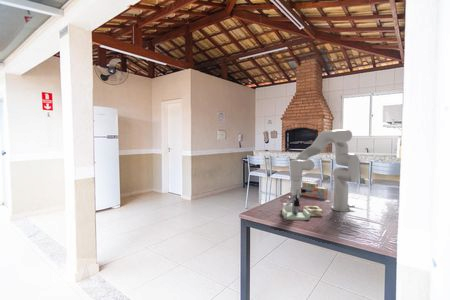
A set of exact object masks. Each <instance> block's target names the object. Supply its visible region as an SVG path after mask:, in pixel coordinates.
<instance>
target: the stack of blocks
mask: <svg viewBox="0 0 450 300" xmlns="http://www.w3.org/2000/svg"><path fill="white" fill-rule="evenodd" d="M301 189H305V190H308V191H312V192H306V193H301V195H302V196H306V197H309V198H310V197H311V198H315V199H321V200H326V199H328V187H323V186H319V183H318V182H311V181H303V182H302V181H301Z"/></svg>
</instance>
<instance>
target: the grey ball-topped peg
mask: <svg viewBox="0 0 450 300" xmlns="http://www.w3.org/2000/svg"><path fill="white" fill-rule="evenodd" d="M292 198H293V195H286V196H285V199H286V203H287V205H291V202H292Z"/></svg>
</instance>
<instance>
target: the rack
mask: <svg viewBox="0 0 450 300" xmlns="http://www.w3.org/2000/svg"><path fill="white" fill-rule="evenodd" d="M281 215H282V216H283V219H284V220H295V221H296V220H298V221H299V220H302V221H310V220H311V219H310V217H311V216H310V214H309V212H308V211H307V210H306V209H304V208H303V209H302V212H298V214H292V212H286V211H285V209H283V208H281Z"/></svg>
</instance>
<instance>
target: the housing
mask: <svg viewBox="0 0 450 300" xmlns="http://www.w3.org/2000/svg"><path fill="white" fill-rule="evenodd" d="M282 209H285V211H286V212H292V203H291V205H287V202H282Z"/></svg>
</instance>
